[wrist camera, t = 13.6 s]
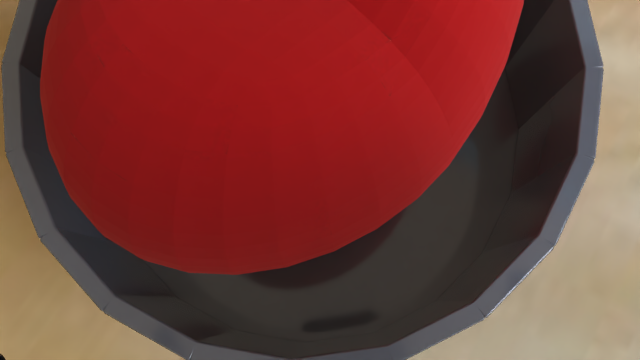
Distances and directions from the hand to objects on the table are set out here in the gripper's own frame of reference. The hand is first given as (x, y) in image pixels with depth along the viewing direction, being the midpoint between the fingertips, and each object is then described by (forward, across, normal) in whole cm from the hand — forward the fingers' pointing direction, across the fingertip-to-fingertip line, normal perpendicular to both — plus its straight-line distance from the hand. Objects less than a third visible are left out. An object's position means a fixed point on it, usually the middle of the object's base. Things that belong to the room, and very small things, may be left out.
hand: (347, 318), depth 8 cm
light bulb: (+10, 0, +3) cm, 10 cm away
